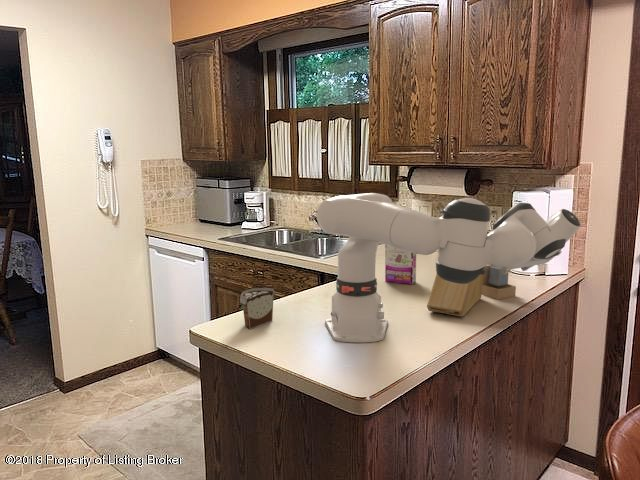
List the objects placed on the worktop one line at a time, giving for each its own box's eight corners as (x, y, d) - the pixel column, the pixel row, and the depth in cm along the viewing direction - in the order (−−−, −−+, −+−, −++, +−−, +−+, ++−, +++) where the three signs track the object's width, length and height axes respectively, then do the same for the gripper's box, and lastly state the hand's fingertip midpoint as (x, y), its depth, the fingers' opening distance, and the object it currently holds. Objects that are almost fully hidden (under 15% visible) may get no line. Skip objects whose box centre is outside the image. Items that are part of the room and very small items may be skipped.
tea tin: (507, 295, 186) (508, 267, 184) (497, 297, 184) (499, 269, 182) (497, 292, 190) (498, 265, 188) (487, 294, 188) (489, 266, 186)
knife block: (489, 292, 190) (493, 206, 185) (461, 320, 161) (465, 220, 155) (458, 288, 196) (461, 205, 190) (425, 314, 166) (428, 217, 161)
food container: (261, 315, 167) (260, 285, 166) (275, 319, 164) (274, 288, 162) (232, 326, 158) (230, 294, 156) (246, 330, 154) (245, 297, 152)
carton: (515, 295, 185) (516, 268, 183) (497, 299, 181) (499, 271, 180) (496, 290, 193) (498, 263, 191) (479, 293, 189) (481, 266, 187)
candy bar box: (416, 282, 205) (417, 240, 202) (412, 285, 201) (413, 242, 198) (389, 278, 210) (389, 238, 207) (384, 281, 206) (385, 240, 203)
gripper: (521, 258, 164) (495, 282, 174) (565, 252, 173) (538, 274, 183) (510, 242, 167) (486, 266, 177) (554, 236, 176) (529, 260, 187)
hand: (513, 270), depth 180 cm, fingers open, 8 cm apart
